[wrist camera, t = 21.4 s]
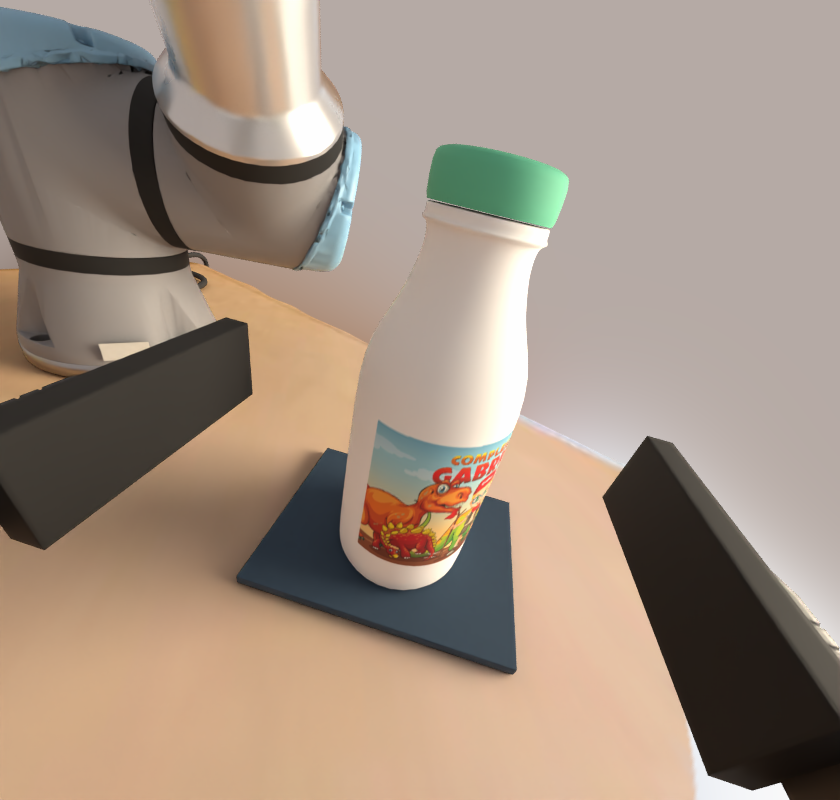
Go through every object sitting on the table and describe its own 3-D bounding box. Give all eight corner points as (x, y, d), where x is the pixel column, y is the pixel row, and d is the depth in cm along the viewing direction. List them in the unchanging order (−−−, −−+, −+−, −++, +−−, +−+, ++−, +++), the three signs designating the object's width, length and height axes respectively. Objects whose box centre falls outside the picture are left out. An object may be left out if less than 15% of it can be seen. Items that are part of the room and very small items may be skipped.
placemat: (236, 582, 17) (235, 576, 17) (327, 453, 27) (327, 447, 26) (512, 675, 16) (517, 670, 16) (506, 507, 26) (509, 502, 26)
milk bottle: (310, 546, 19) (332, 104, 9) (382, 472, 25) (445, 160, 15) (424, 626, 17) (636, 156, 7) (473, 523, 23) (623, 196, 13)
